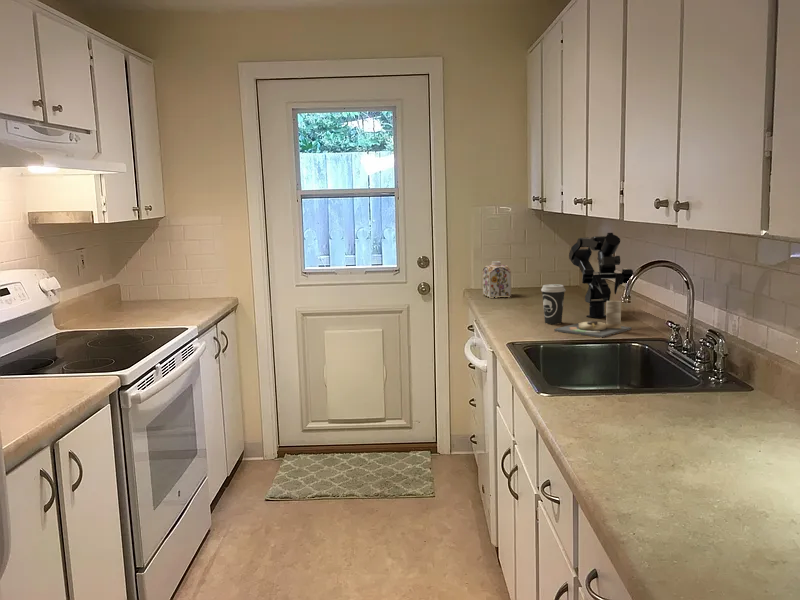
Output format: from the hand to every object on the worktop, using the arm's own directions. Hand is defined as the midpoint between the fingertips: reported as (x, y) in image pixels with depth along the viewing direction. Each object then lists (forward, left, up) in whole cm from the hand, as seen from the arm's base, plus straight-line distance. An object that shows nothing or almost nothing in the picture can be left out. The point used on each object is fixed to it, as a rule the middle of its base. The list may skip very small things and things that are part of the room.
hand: (609, 293), depth 262 cm
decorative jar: (-37, -87, -13) cm, 95 cm away
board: (+11, 0, -13) cm, 17 cm away
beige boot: (+11, +3, -11) cm, 16 cm away
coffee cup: (+7, -21, -13) cm, 25 cm away
